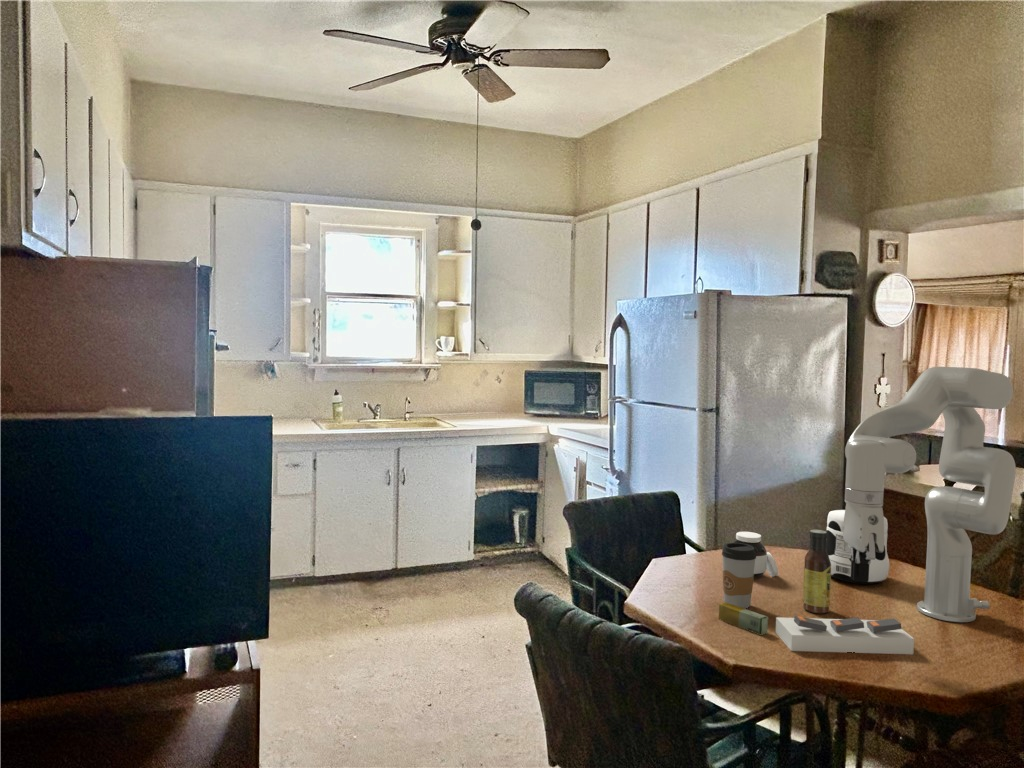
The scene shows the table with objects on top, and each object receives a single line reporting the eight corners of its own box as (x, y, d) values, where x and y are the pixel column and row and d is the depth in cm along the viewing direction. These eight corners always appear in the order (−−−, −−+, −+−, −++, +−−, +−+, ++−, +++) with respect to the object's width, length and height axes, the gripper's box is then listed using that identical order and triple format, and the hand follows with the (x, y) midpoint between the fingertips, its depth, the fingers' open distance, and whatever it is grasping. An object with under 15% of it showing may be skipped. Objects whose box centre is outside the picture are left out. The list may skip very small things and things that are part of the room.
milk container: (875, 570, 213) (878, 510, 212) (898, 590, 196) (901, 525, 195) (814, 567, 216) (816, 507, 215) (831, 586, 199) (834, 521, 198)
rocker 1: (820, 626, 160) (821, 620, 160) (825, 631, 157) (827, 625, 157) (793, 620, 160) (794, 614, 160) (798, 626, 157) (799, 620, 157)
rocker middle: (858, 622, 160) (857, 616, 160) (864, 627, 157) (863, 621, 157) (830, 626, 160) (830, 620, 160) (836, 631, 157) (835, 625, 157)
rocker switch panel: (890, 635, 165) (890, 619, 165) (913, 654, 155) (914, 637, 155) (775, 632, 166) (776, 616, 166) (791, 650, 156) (791, 634, 156)
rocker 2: (894, 623, 160) (893, 617, 160) (901, 628, 157) (900, 622, 157) (867, 627, 160) (866, 621, 160) (873, 632, 157) (873, 626, 157)
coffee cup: (712, 602, 185) (714, 544, 184) (737, 597, 189) (739, 540, 188) (736, 613, 178) (739, 553, 177) (761, 608, 181) (763, 549, 180)
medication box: (768, 633, 166) (769, 616, 166) (761, 636, 164) (762, 618, 164) (724, 617, 175) (725, 601, 175) (717, 619, 174) (718, 603, 174)
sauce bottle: (832, 616, 177) (835, 535, 176) (805, 613, 178) (808, 534, 177) (826, 606, 183) (829, 529, 182) (800, 604, 185) (803, 527, 183)
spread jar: (724, 571, 210) (725, 531, 210) (752, 566, 216) (754, 527, 215) (756, 583, 200) (757, 542, 199) (784, 578, 205) (786, 537, 205)
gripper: (898, 505, 149) (893, 592, 150) (865, 490, 164) (861, 570, 165) (862, 503, 149) (857, 591, 150) (832, 489, 164) (828, 569, 165)
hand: (859, 580), depth 158 cm, fingers closed
